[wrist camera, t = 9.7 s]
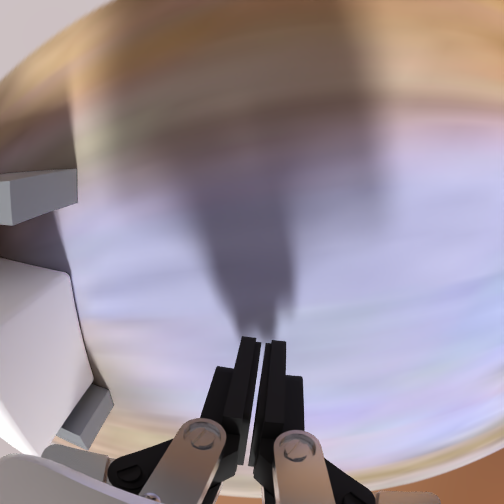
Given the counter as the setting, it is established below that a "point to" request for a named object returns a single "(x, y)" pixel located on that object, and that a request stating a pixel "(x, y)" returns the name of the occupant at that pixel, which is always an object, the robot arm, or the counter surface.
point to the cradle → (27, 207)
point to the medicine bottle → (38, 355)
